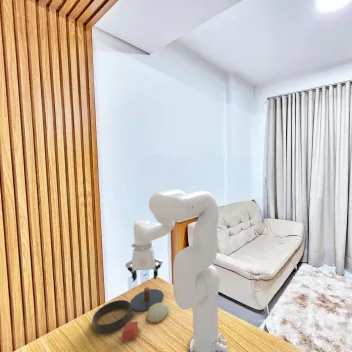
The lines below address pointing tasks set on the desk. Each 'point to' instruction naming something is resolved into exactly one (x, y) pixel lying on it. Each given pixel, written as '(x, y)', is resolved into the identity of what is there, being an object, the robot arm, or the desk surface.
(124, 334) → the block
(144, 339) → the desk surface
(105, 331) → the pot
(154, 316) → the sea urchin shell
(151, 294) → the pot lid
